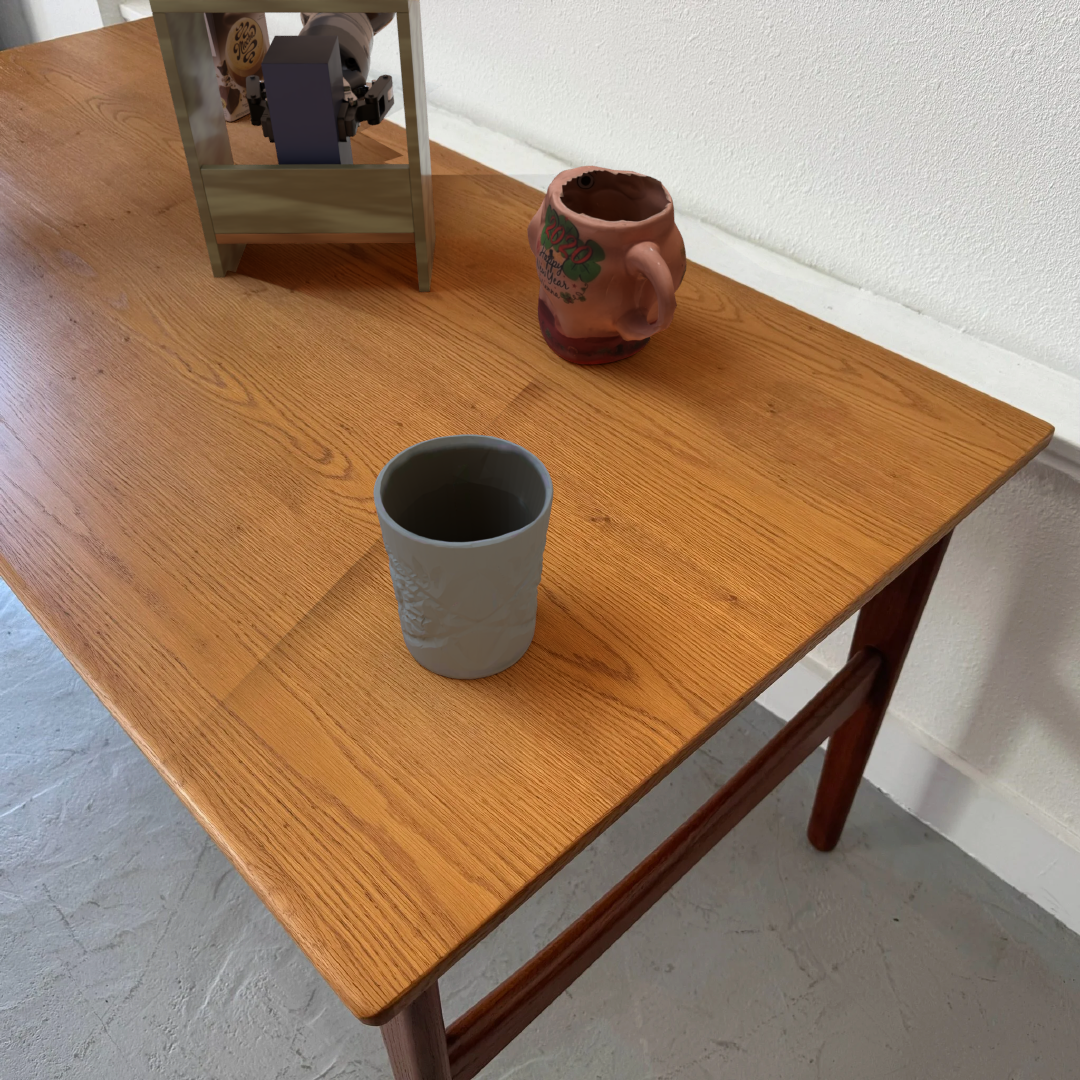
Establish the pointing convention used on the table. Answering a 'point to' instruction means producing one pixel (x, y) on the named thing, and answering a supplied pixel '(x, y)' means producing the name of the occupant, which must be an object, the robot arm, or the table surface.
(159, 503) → the table surface
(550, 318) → the pink ceramic mug
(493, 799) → the table surface
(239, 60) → the coffee box
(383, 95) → the robot arm
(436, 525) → the grey cup
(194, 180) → the shelf unit
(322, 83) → the carton
